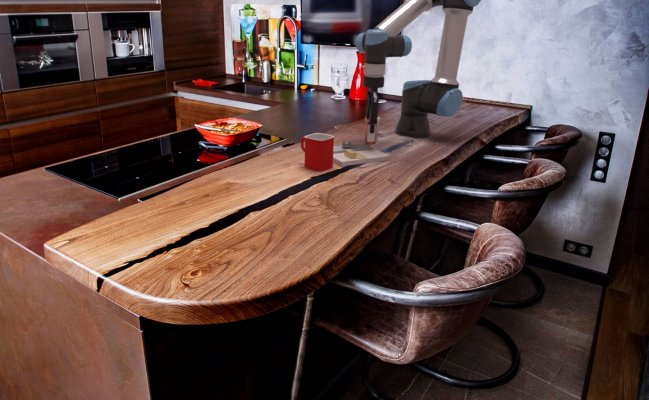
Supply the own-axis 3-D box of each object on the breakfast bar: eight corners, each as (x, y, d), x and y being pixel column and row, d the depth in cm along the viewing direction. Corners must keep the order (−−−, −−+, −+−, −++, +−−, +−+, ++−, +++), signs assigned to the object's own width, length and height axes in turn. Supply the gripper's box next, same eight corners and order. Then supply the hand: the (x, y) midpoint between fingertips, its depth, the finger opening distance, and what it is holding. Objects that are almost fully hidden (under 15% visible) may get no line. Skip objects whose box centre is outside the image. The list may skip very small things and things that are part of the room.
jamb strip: (365, 148, 192) (365, 142, 192) (373, 152, 187) (374, 146, 187) (319, 154, 184) (320, 147, 183) (327, 158, 179) (327, 151, 178)
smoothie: (378, 143, 201) (380, 109, 196) (363, 142, 202) (364, 108, 197) (380, 139, 207) (382, 106, 201) (364, 138, 208) (366, 105, 203)
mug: (335, 166, 170) (336, 136, 166) (320, 172, 164) (321, 141, 160) (308, 159, 177) (309, 130, 173) (293, 164, 170) (293, 134, 167)
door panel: (374, 152, 187) (375, 143, 186) (389, 159, 179) (390, 149, 177) (328, 158, 178) (328, 148, 177) (341, 166, 170) (342, 155, 169)
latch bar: (343, 148, 181) (344, 121, 177) (341, 145, 185) (342, 118, 181) (376, 147, 183) (378, 120, 179) (373, 145, 187) (375, 118, 183)
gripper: (360, 72, 183) (357, 133, 191) (366, 79, 167) (362, 145, 175) (380, 72, 183) (376, 133, 192) (388, 79, 167) (383, 146, 176)
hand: (369, 139), depth 184 cm, fingers open, 4 cm apart
